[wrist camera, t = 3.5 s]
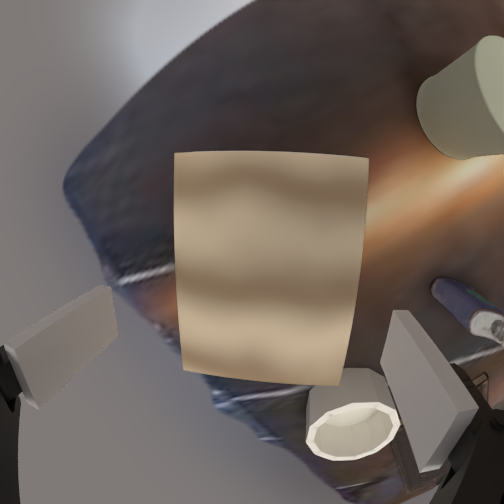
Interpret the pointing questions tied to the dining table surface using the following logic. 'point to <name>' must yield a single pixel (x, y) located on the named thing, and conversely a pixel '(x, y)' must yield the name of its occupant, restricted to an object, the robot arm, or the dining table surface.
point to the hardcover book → (406, 455)
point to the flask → (470, 308)
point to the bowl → (351, 416)
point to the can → (466, 103)
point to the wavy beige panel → (268, 262)
